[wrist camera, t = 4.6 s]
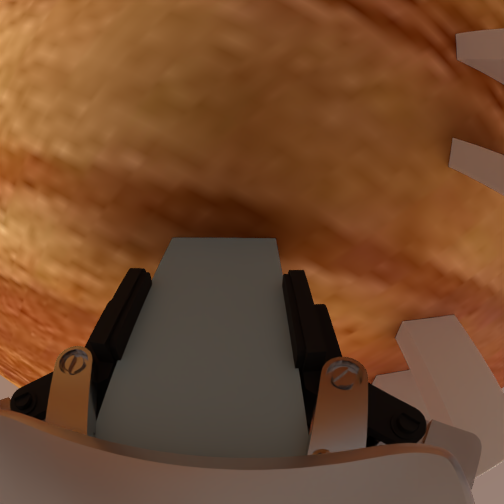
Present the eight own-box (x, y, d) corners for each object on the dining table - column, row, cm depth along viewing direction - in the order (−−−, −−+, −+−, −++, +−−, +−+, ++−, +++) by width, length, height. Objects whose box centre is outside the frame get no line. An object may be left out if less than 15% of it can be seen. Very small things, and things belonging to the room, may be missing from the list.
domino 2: (376, 375, 20) (416, 508, 9) (425, 366, 20) (471, 481, 9) (370, 386, 21) (405, 512, 10) (418, 377, 21) (459, 488, 10)
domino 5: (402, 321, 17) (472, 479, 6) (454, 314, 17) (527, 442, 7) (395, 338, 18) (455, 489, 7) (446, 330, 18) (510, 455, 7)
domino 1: (172, 237, 14) (75, 499, 3) (275, 238, 14) (319, 526, 3) (176, 265, 14) (104, 512, 4) (273, 266, 15) (305, 530, 4)
